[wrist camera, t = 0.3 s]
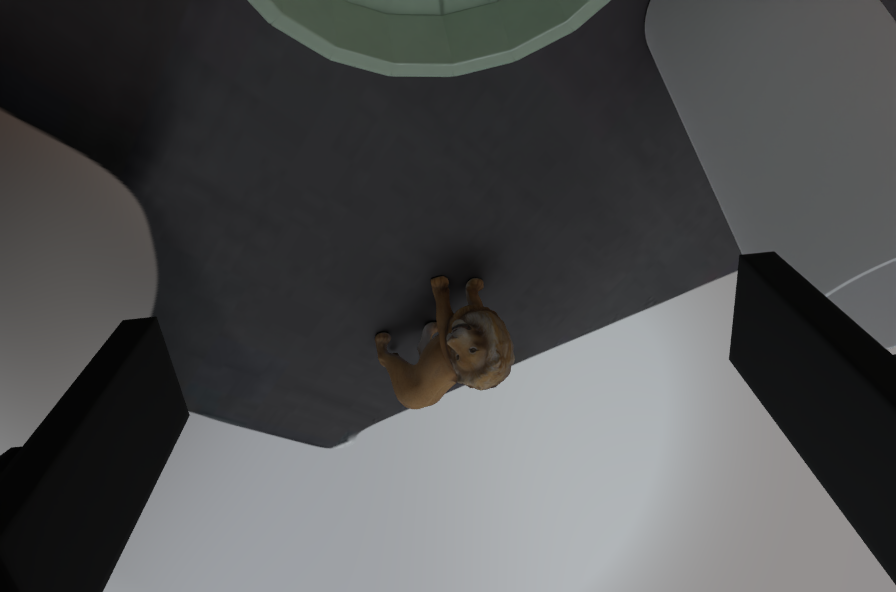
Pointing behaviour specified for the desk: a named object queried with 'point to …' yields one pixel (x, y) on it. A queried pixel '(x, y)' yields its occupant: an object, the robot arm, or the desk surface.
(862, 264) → the cup
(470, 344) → the lion figurine
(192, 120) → the desk surface
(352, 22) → the ceramic bowl
